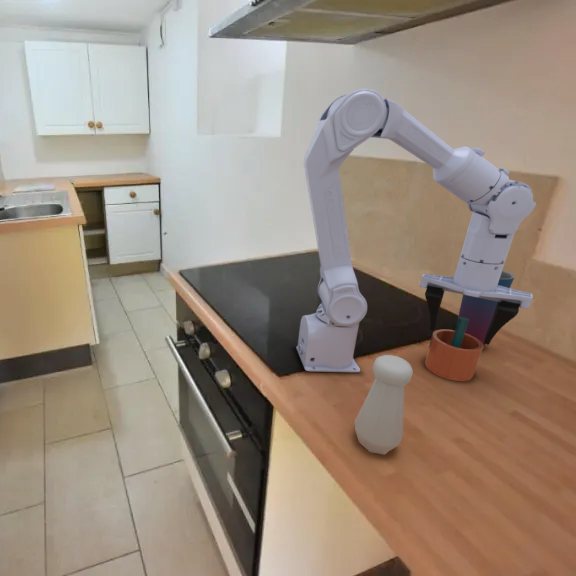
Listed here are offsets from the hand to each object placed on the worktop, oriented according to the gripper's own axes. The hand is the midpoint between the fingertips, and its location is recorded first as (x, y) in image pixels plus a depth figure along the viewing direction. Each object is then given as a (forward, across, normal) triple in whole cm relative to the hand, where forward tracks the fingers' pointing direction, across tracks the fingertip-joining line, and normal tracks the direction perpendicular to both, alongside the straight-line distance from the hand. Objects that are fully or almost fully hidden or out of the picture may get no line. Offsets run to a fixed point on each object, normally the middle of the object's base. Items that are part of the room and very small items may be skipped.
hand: (458, 334), depth 64 cm
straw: (+6, 0, 0) cm, 6 cm away
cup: (+7, +2, +13) cm, 15 cm away
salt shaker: (+7, -6, -26) cm, 28 cm away
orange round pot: (+7, 0, 0) cm, 7 cm away
